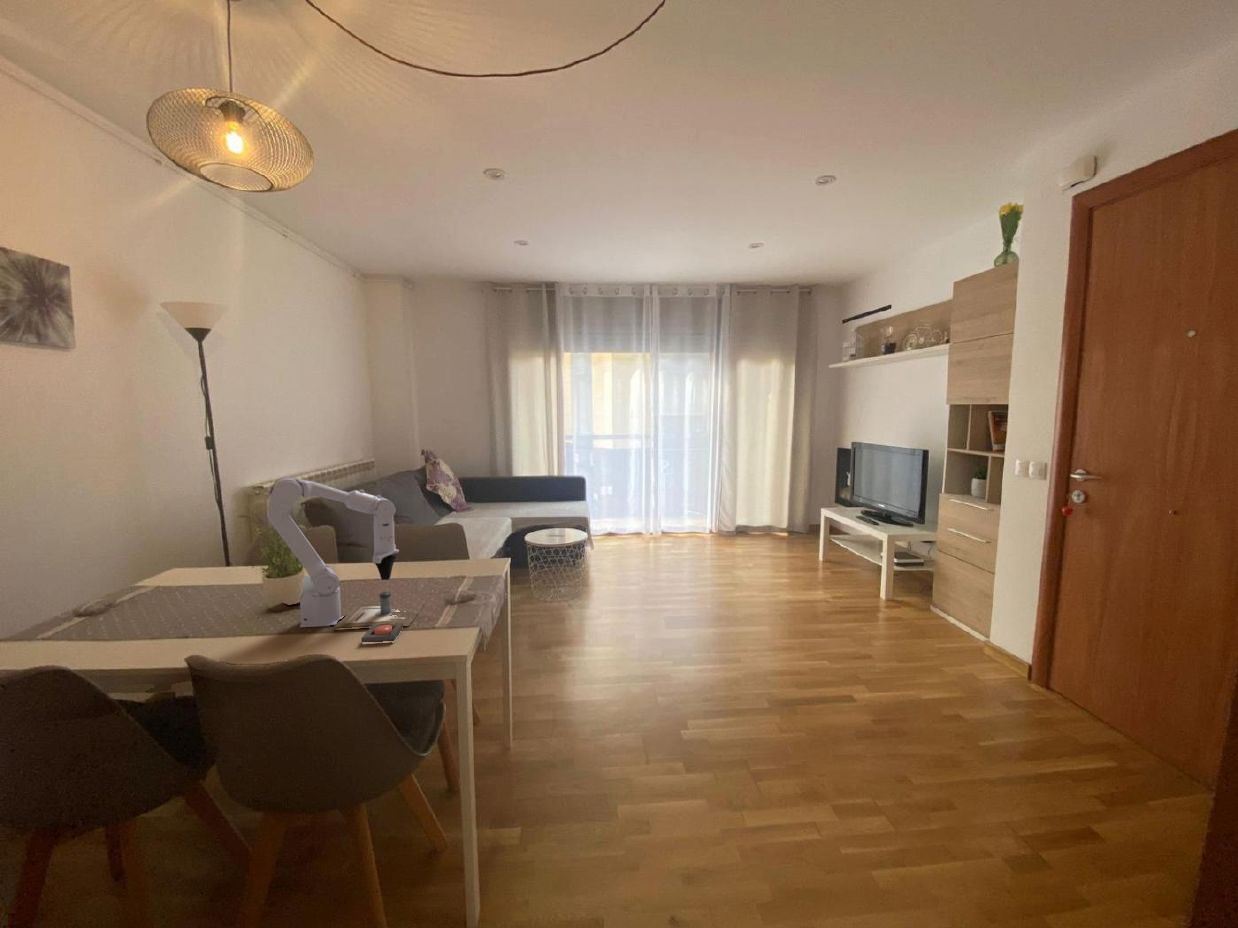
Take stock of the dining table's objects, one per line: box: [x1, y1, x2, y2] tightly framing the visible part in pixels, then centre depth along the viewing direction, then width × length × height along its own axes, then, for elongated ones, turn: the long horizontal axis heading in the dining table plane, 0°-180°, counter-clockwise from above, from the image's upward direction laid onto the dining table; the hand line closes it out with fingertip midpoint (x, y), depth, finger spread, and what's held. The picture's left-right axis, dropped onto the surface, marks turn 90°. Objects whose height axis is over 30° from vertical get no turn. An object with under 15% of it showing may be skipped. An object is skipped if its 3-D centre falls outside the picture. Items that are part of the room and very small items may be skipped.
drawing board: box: [333, 604, 406, 630], centre depth 138 cm, size 20×16×1 cm
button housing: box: [361, 623, 404, 643], centre depth 125 cm, size 8×8×2 cm
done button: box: [374, 625, 392, 635], centre depth 125 cm, size 4×4×2 cm
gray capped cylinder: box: [378, 591, 392, 615], centre depth 138 cm, size 3×3×6 cm
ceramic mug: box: [299, 575, 314, 604], centre depth 149 cm, size 11×8×8 cm
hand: (385, 579), depth 144 cm, fingers closed
